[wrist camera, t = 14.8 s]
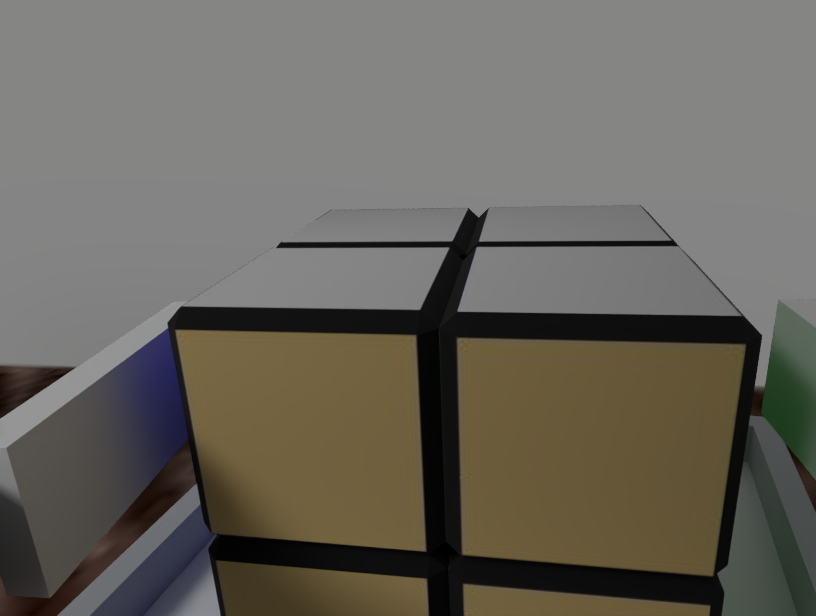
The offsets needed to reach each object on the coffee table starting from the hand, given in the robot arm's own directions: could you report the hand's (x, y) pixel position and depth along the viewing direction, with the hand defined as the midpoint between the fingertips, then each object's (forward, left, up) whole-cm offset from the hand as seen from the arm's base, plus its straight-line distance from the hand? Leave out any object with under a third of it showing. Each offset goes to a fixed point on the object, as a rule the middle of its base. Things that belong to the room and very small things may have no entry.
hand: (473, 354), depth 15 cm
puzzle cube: (0, +1, -8) cm, 8 cm away
